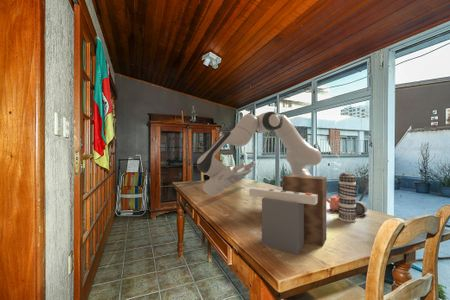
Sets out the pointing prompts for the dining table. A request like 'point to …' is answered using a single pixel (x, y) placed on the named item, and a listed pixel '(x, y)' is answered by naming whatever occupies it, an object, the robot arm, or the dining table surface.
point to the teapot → (333, 202)
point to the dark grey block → (283, 225)
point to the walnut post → (312, 213)
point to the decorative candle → (347, 197)
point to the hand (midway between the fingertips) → (249, 163)
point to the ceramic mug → (360, 208)
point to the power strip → (284, 195)
